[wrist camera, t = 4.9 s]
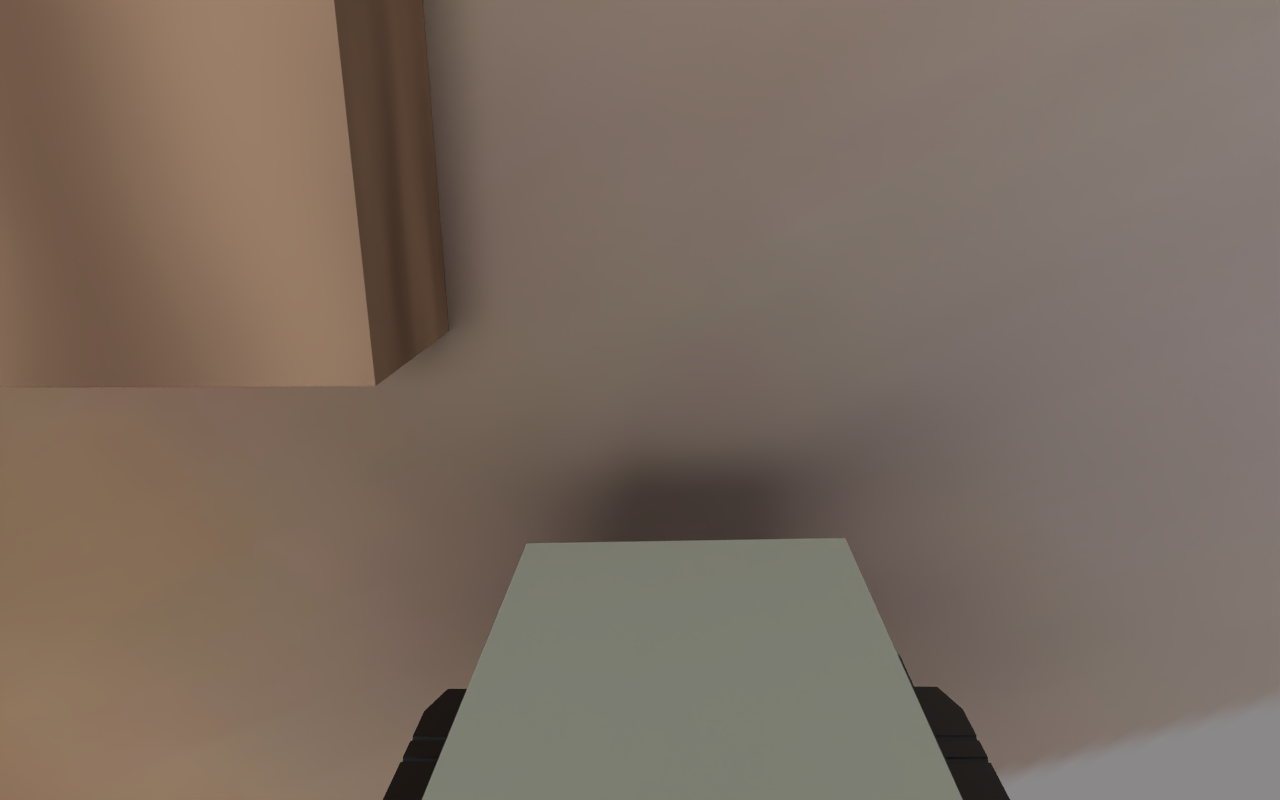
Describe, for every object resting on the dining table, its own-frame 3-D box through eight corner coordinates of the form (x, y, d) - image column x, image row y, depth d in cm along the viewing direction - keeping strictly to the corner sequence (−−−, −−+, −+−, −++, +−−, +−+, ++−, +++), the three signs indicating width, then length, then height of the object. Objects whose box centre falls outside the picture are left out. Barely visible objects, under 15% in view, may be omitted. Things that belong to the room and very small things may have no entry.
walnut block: (416, -125, 15) (306, -259, 11) (452, 328, 18) (375, 386, 13) (-34, -116, 16) (-340, -242, 11) (64, 331, 18) (-151, 387, 13)
